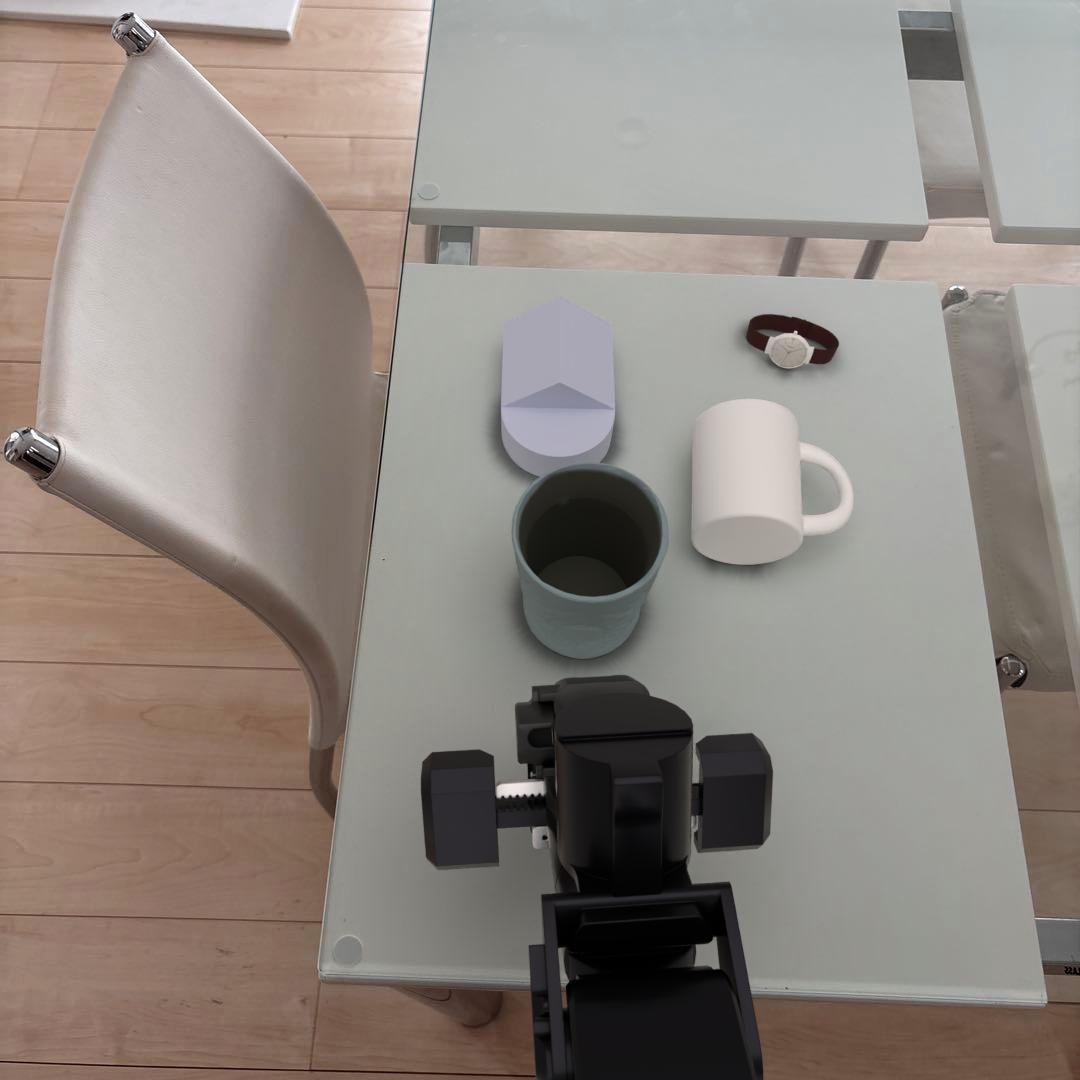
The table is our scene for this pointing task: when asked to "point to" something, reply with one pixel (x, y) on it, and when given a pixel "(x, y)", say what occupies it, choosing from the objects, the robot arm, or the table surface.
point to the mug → (756, 484)
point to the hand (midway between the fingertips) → (580, 727)
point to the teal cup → (587, 555)
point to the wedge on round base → (557, 387)
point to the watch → (791, 340)
